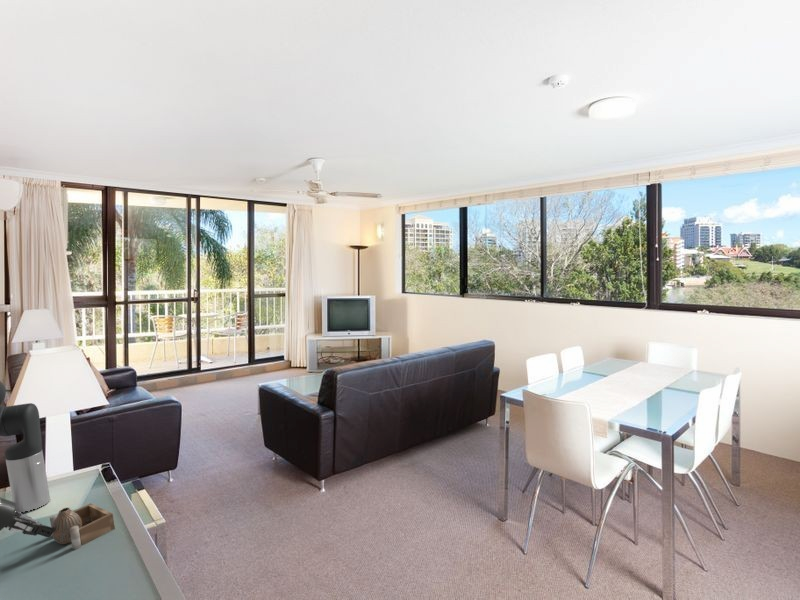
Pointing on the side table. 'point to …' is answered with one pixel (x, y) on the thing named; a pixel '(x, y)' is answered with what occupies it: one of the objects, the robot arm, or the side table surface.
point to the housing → (89, 525)
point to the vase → (65, 525)
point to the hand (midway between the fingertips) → (51, 532)
